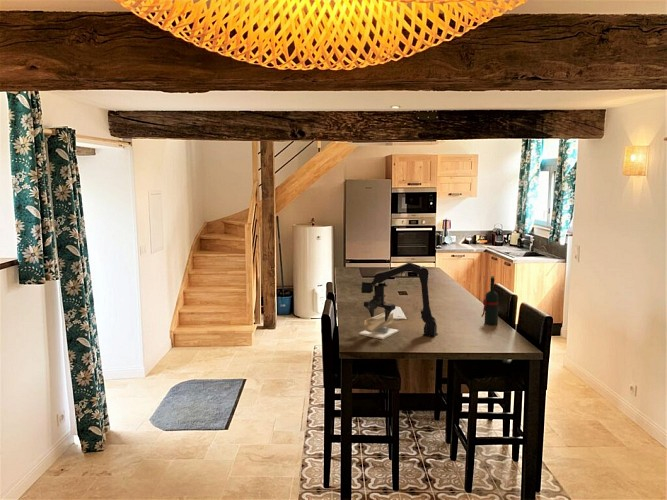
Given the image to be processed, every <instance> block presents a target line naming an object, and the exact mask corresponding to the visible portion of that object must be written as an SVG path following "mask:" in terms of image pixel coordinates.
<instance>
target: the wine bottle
mask: <svg viewBox="0 0 667 500" xmlns="http://www.w3.org/2000/svg"><path fill="white" fill-rule="evenodd" d="M489 287H490V291H489V290H488V291H487V292H486V294H485V298H483V303H482V304H483V310H482V314H481V318H484V324H485V325H487V326H497V325H498V323H499V294H498V293H497V292H496V291H495V276H494V275H490V286H489Z"/></svg>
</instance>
